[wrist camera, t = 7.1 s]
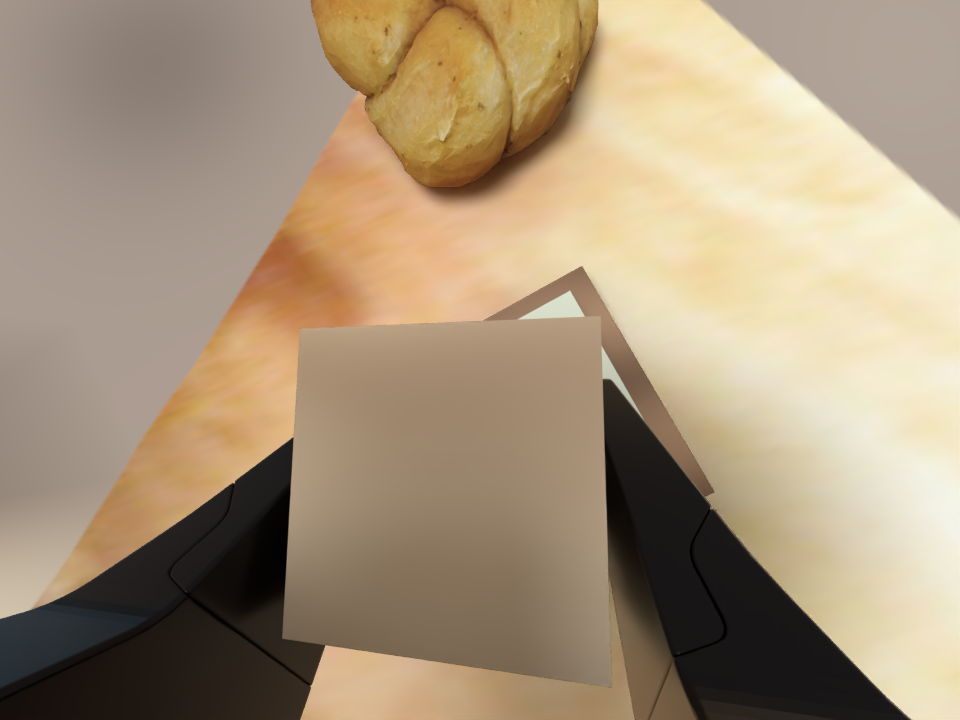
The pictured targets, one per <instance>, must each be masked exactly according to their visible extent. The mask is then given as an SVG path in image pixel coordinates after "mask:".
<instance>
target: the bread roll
mask: <svg viewBox="0 0 960 720" xmlns="http://www.w3.org/2000/svg"><path fill="white" fill-rule="evenodd" d="M311 7H312V13H313V16H314V19H315V22H316V25H317V28H318V33H319V36H320V40H321V43H322V47H323V50H324V53H325V55H326V58H327V59H328V61H329V62H330V64H331V66H332V67H333V68H334V70H335V71H336V72H337V73H338V74H339V75H340V76H341V77H342V79H343V80H344V81H345V82H346V83H347V84H348V85H349V86H350V87H351V88H353V89H355V90H357V91H360V92H361V93H362V94H363V95H366V96H367V97H366V100H365V110H366V112H367V114H368V117H369V119H370V121H371V122H372V123H373V124H374V125H375V126H376V128H377V131H378V133H379V134H380V135H381V136H382V137H383V139H384V140H385V141H386V143H387V144H389V145H390V146H391V148H392V149H393V150H394V152H395V153H396V155H397V156H398V158H399V159H400V161H401V162H402V164H403V166H404V168H405V171H406V172H407V173H408V174H409V175H411V176H412V177H413V178H414V179H415V180H416V181H418V182H420V183H422V184H423V185H425V186H430V187H451V186H453V187H459V186H464V185H465V184H467V183H469V182H474V181H476V180H478V179H479V178H481V177H482V176H483V175H485V174H486V173H487V172H488V171H489V170H491V169H492V168H493V167H494V166H495V165H496V164H497V163H498V162H499V160H500V159H503V158H507V157H509V156H512V155H513V154H515V153H517V152H519V151H521V150H522V149H524V148H526V147H527V146H529V145H530V144H531V143H533V142H534V141H536V140H537V139H538V138H539V137H540V136H543V135H545V134H547V133H548V132H549V130H550V128H551V126H552V124H553V123H554V121H555V119H556V118H557V116H558V114H559V113H560V112H561V111H562V109H563V108H564V107H565V105H566V104H567V103H568V101H569V100H570V98H571V95H572V92H573V89H574V87H575V83H576V79H577V75H578V72H579V69H580V67H581V65H582V63H583V61H584V60H585V58H586V56H587V54H588V52H589V49H590V47H591V44H592V42H593V39H594V35H595V32H596V27H597V25H598V0H311Z"/></svg>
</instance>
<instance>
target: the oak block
mask: <svg viewBox="0 0 960 720" xmlns="http://www.w3.org/2000/svg"><path fill="white" fill-rule="evenodd" d="M282 639H288V640H294V641H301V642H308V643H315V644H321V645H328V646H335V647H342V648H348V649H355V650H362V651H368V652H375V653H382V654H389V655H395V656H402V657H409V658H416V659H422V660H429V661H436V662H443V663H449V664H456V665H463V666H469V667H476V668H483V669H490V670H496V671H503V672H510V673H517V674H523V675H530V676H537V677H544V678H550V679H557V680H564V681H571V682H577V683H584V684H591V685H597V686H604V687H611V688H612V681H611V647H610V614H609V580H608V546H607V512H606V479H605V445H604V411H603V377H602V344H601V316H589V317H566V318H542V319H518V320H495V321H471V322H447V323H424V324H400V325H376V326H353V327H329V328H305V329H300V336H299V354H298V371H297V389H296V407H295V424H294V442H293V459H292V477H291V494H290V512H289V529H288V547H287V564H286V582H285V599H284V617H283V634H282Z"/></svg>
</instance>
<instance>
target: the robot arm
mask: <svg viewBox="0 0 960 720" xmlns="http://www.w3.org/2000/svg"><path fill="white" fill-rule="evenodd" d="M603 411H604V445H605V479H606V512H607V546H608V571H609V577H610V582H611V588H612V593H613V599H614V605H615V610H616V616H617V622H618V627H619V633H620V639H621V644H622V650H623V656H624V661H625V667H626V673H627V678H628V684H629V690H630V695H631V701H632V707H633V712H634V718H635V720H911V719H910V718H909V717H908V716H907V715H906V714H904V713H903V712H902V711H901V710H900V709H899V708H898V707H897V706H896V705H895V704H894V703H893V702H891V701H890V700H889V699H888V698H887V697H886V696H885V695H884V694H883V693H882V692H881V691H880V690H879V689H878V688H877V687H876V686H875V685H874V684H873V683H872V682H871V681H870V680H869V679H868V677H867V676H866V675H865V674H864V673H863V672H862V671H861V670H860V669H859V668H858V667H857V666H856V665H855V664H854V663H853V662H852V661H851V660H850V659H849V658H848V657H847V656H846V655H845V653H844V652H843V651H842V650H841V649H840V648H839V647H838V646H837V645H836V644H835V643H834V642H833V641H832V640H831V639H830V638H829V637H828V636H827V635H826V634H825V633H824V632H823V630H822V629H821V628H820V627H819V626H818V625H817V624H816V623H815V622H814V621H813V620H812V619H811V618H810V617H809V616H808V615H807V614H806V613H805V612H804V611H803V610H802V609H801V608H800V606H799V605H798V604H797V603H796V602H795V601H794V600H793V599H792V598H791V597H790V596H789V595H788V594H787V593H786V592H785V591H784V590H783V589H782V587H781V586H780V585H779V584H778V583H777V582H776V581H775V580H774V579H773V578H772V577H771V576H770V574H769V573H768V572H767V571H766V570H765V569H764V568H763V567H762V566H761V565H760V564H759V563H758V561H757V560H756V559H755V558H754V557H753V556H752V555H751V553H750V552H749V551H748V550H747V549H746V547H745V546H744V545H743V544H742V543H741V541H740V540H739V539H738V538H737V537H736V535H735V534H734V533H733V532H732V531H731V529H730V528H729V527H728V526H727V524H726V523H725V522H724V521H723V519H722V518H721V517H720V515H719V514H718V513H717V512H716V510H714V509H711V507H712V506H711V504H710V503H709V502H708V501H707V499H706V498H705V497H704V496H703V494H702V493H701V492H700V490H699V489H698V488H697V487H696V485H695V484H694V483H693V482H692V480H691V479H690V478H689V477H688V475H687V474H686V473H685V471H684V470H683V469H682V468H681V466H680V465H679V464H678V463H677V461H676V460H675V459H674V458H673V456H672V455H671V454H670V452H669V451H668V450H667V449H666V447H665V446H664V445H663V444H662V442H661V441H660V440H659V439H658V437H657V436H656V435H655V434H654V432H653V431H652V430H651V428H650V427H649V426H648V425H647V423H646V422H645V421H644V420H643V418H642V417H641V416H640V415H639V413H638V412H637V411H636V409H635V408H634V407H633V406H632V404H631V403H630V402H629V401H628V399H627V398H626V397H625V396H624V394H623V393H622V392H621V390H620V389H619V388H618V387H617V385H616V384H615V383H614V382H613V381H612V380H611V379H603ZM293 442H294V437H293V438H292V439H290V440H289V441H288V442H286V443H285V444H284V445H282V446H281V447H280V448H278V449H277V450H276V451H274V452H273V453H272V454H270V455H269V456H268V457H266V458H265V459H264V460H262V461H261V462H260V463H258V464H257V465H256V466H254V467H253V468H252V469H250V470H249V471H248V472H246V473H245V474H244V475H242V476H241V477H240V478H238V479H237V480H236V481H235V484H234V483H232V484H230V485H229V486H228V487H226V488H225V489H224V490H222V491H221V492H220V493H218V494H217V495H216V496H214V497H213V498H212V499H210V500H209V501H207V502H206V503H205V504H203V505H202V506H201V507H199V508H198V509H196V510H195V511H194V512H192V513H191V514H190V515H188V516H187V517H185V518H184V519H182V520H181V521H179V522H178V523H176V524H175V525H174V526H172V527H171V528H169V529H168V530H166V531H165V532H163V533H162V534H160V535H159V536H157V537H156V538H154V539H153V540H151V541H150V542H148V543H147V544H145V545H144V546H142V547H141V548H139V549H138V550H136V551H135V552H133V553H132V554H130V555H129V556H127V557H126V558H124V559H123V560H121V561H120V562H118V563H117V564H115V565H114V566H112V567H111V568H109V569H108V570H106V571H105V572H103V573H102V574H100V575H99V576H97V577H96V578H94V579H93V580H91V581H90V582H88V583H86V584H85V585H83V586H82V587H80V588H78V589H77V590H75V591H73V592H71V593H69V594H67V595H65V596H64V597H61V598H59V599H57V600H55V601H53V602H50V603H48V604H46V605H43V606H40V607H38V608H35V609H32V610H29V611H26V612H23V613H19V614H16V615H12V616H9V617H6V618H2V619H0V720H300V719H301V716H302V713H303V710H304V707H305V704H306V701H307V699H308V696H309V693H310V690H311V687H310V686H311V685H312V683H313V680H314V677H315V674H316V671H317V668H318V665H319V662H320V660H321V657H322V654H323V651H324V648H325V645H321V644H315V643H308V642H301V641H294V640H288V639H282V634H283V617H284V599H285V582H286V564H287V547H288V529H289V512H290V494H291V477H292V459H293Z"/></svg>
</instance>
